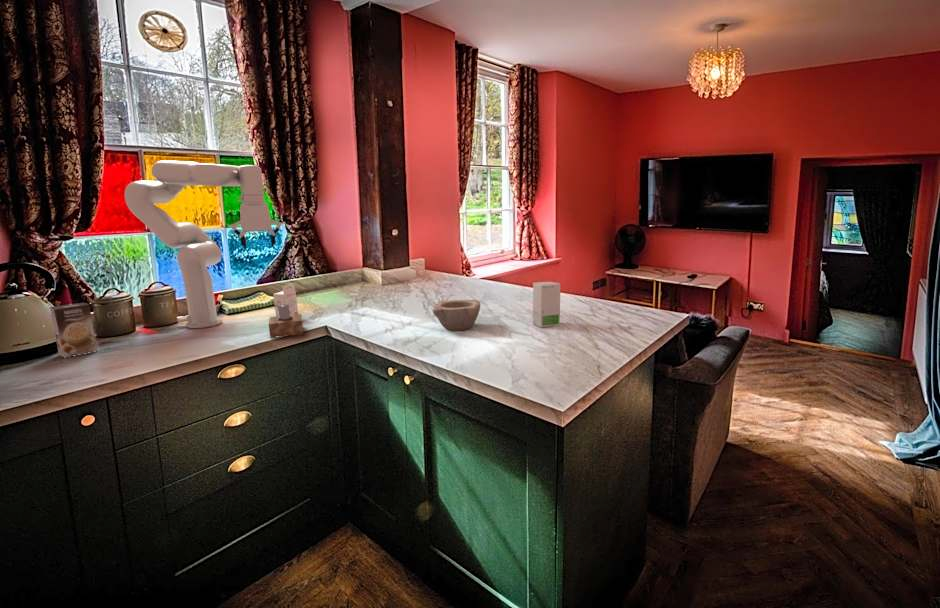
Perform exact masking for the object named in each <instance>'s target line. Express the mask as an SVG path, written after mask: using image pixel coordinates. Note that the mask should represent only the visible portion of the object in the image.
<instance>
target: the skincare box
mask: <svg viewBox="0 0 940 608" xmlns="http://www.w3.org/2000/svg"><path fill="white" fill-rule="evenodd" d="M560 316H561V283H560V282H555V281H554V282H553V281H542V282H541V281H540V282H539V281H538V282H533V283H532V324H533V325H534V326H536V327H538V328H542V329H543V328H549V327H556V326H557V327H559V326H561V325H560V324H561V323H560V322H561V321H560V319H561V317H560Z"/></svg>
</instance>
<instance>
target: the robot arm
mask: <svg viewBox="0 0 940 608" xmlns="http://www.w3.org/2000/svg"><path fill="white" fill-rule="evenodd" d="M150 171H151V175H152V177H153V178H154V179H155V180H136V181H132V182H130V183H129V184H127V185H126V186H125V190H124V200H125V204H126V206H127V207H128V210H129V211H130V212H131V213H132V215H134V216H135V217H136V218H137V219H138V220H140V222H141V223H143V225H145V226H146V227H147V229H149V230H150V232H152V233H153V234H154V235H155V236H156V238H158V239H159V240H160V241H161V242H162V243H163V244H164V246H166V247H169V248H170V249H179V250H178V252H177V255H176V258H177V259H176V260H177V263H178V266H179V269H180V271H181V276H182V279H183V285H184V286H183V287H184V291H185V297H186V299H185V300H186V305H187V310H188V314H187V315H185V316H183V315H182V316H177V317H176V321H177V322H178V323H184V322H186V323H185V327H186V328H189V329H203V328H204V329H205V328H209V327H214V326H218V325H220V324H222V323H223V319H222V318H219V317H218V315H217V314H218V313H217V308H216V301H215V293H214V285H213V281H212V276H211V274H210V272H209V270H208V267H212V266H215V265H217V264H218V263H219V262H220V261H221V260H222V251H221V248H220V247H219V245H218V244H217V243H216V242H215V241H214V240H213V239H212V238H211V237H210V236H209V235H208V234H207V233H206V232H205V231H204V230H203V229H202V228H201V227H200V226H198V225H197V224H195V223H193V222H190V221H189V222H188V221H184V222H183V221H182V222H179V221H176V220H174V219H173V218H172V217H171V216H170V215H169V213H167V211H165V210H164V209H162V208H160V207H159V206H157V204H166V203H169V202H171V201H173V200H174V199H175V198H176V197H177V196H178V195H179V194H180V192H182V190H184V188H185V187H187V186H194V187H195V186H196V187H197V186H212V187H235V188H236V187H240V192H241V196H239V197H238V196H237V202H242V204H240V206H239V207H240V209H239V213H240V216H239V217H240V220H238V221H236V222H234V223H232V224H231V225H230V228H231V229H232V230H233V232H234V233H235V234H236V235H237V236H238V237H239V238H240V244H241V246H242V247H243V249H246V248H247V240H246V236H245V234H247V233H248V232H249V233H253V232H268V233H269V234H270V242H271V243H270V245H271V247H275V245H276V244H277V243H276V234H277V233H278V232H279V231H280V229H281V226H282V223H281V222H279V221H277V220H275V219H272V218H271V215H270V210H269V209H270V208H269V206H268V203H266V200H265V192H264V184H263V174H262V168H261V167H260V166H259V165H256V164H244V165H231V164H222V163H221V164H220V163H218V164H216V163H200V162H197V161H188V160H187V161H184V160H169V159H168V160H166V159H165V160H158V161H156V162H154V164H152V166H151V169H150ZM155 204H156V205H155ZM272 224H273V225H275V226H276V227H275V229H272ZM238 226H240V227H241V231H240V230H238V228H237V227H238Z"/></svg>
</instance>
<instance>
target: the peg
mask: <svg viewBox="0 0 940 608" xmlns="http://www.w3.org/2000/svg"><path fill="white" fill-rule="evenodd" d="M278 308H279V317H280V321H284V320H290V311H289V305H287V304H285V305H279V306H278Z"/></svg>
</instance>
